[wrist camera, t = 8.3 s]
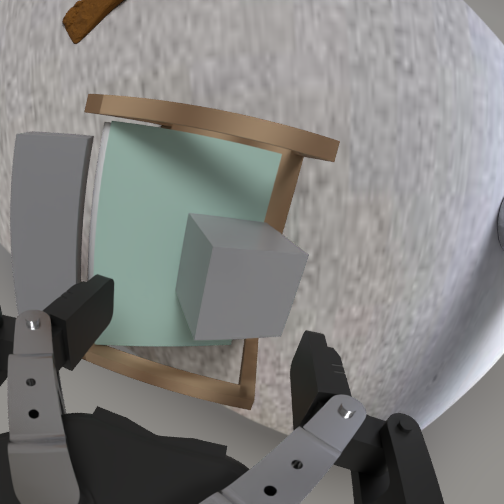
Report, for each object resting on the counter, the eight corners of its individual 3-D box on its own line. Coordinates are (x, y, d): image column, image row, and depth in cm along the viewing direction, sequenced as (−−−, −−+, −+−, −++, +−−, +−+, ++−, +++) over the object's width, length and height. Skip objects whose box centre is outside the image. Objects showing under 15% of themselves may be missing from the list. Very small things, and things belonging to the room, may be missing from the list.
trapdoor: (267, 150, 19) (290, 156, 17) (222, 329, 24) (235, 353, 21) (35, 114, 13) (19, 114, 10) (32, 321, 17) (25, 348, 15)
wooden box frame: (305, 145, 25) (339, 141, 13) (257, 313, 30) (250, 410, 18) (166, 114, 25) (88, 93, 12) (138, 281, 30) (74, 355, 18)
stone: (266, 222, 19) (308, 254, 15) (247, 291, 21) (281, 336, 17) (188, 212, 17) (213, 246, 13) (175, 289, 19) (194, 340, 14)
